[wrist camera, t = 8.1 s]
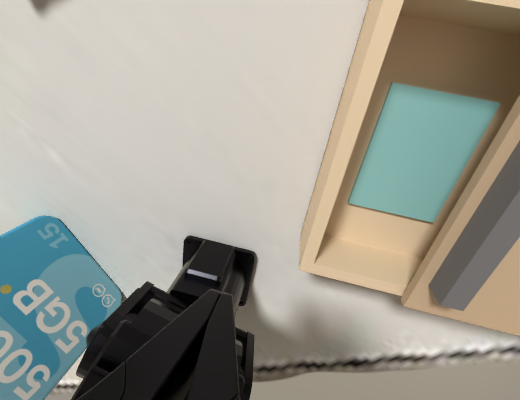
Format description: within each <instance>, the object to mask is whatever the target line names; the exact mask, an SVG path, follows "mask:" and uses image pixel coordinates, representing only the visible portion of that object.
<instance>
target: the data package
mask: <svg viewBox="0 0 520 400" xmlns="http://www.w3.org/2000/svg"><path fill="white" fill-rule="evenodd" d="M121 301H122V296H121V292H120V290H119V289H118V287H117V286H116V285H115V284H114V283H113V281H112V280H111V279H110V278H109V277H108V276H107V274H106V273H105V272H104V271H103V270H102V269H101V267H100V266H99V265H98V264H97V263H96V261H95V260H94V259H93V258H92V257H91V256H90V254H89V253H88V252H87V251H86V250H85V249H84V247H83V246H82V245H81V244H80V243H79V241H78V240H77V239H76V238H75V237H74V236H73V234H72V233H71V232H70V231H69V230H68V229H67V227H66V226H65V225H64V224H63V223H62V222H61V221H60V220H58V219H57V218H54V217H51V216H39V217H36V218H34V219H32V220H30V221H28V222H26V223H24V224H22V225H20V226H18V227H16V228H14V229H12V230H10V231H8V232H6V233H4V234H2V235H0V400H44V399H45V398H46V397H47V396H48V394H49V393H50V392H51V391H52V389H53V388H54V387H55V386H56V385H57V383H58V382H59V381H60V380H61V379H62V377H63V376H64V375H65V374H66V373H67V371H68V370H69V369H70V368H71V366H72V365H73V364H74V363H75V362H76V360H77V359H78V358H79V357H80V356H81V354H82V353H83V352H84V351H85V349H86V348H87V344H86V338H87V336H88V334H89V333H90V331H91V330H92V329H93V328H95V327H96V326H97V325H99V324H100V323H102V322H103V321H104V320H106V319H107V318H108V317H109V316H110V315H111V314H112V313H113V312H114V311H115V310H116V309H117V308H118V307H119V306H120V305H121Z"/></svg>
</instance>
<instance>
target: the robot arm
mask: <svg viewBox="0 0 520 400" xmlns="http://www.w3.org/2000/svg"><path fill="white" fill-rule="evenodd" d="M188 240H189V241H191V242H192V243H191V242H189V241H188ZM248 256H251V258H250V257H248ZM255 257H256V255H255V253H254V252H253V251H250V250H246V249H242V248H238V247H234V246H230V245H226V244H222V243H218V242H214V241H210V240H206V239H202V238H198V237H194V236H187V237H186V238H185V240H184V248H183V268H182V270H181V271H180V273H179V274H178V276H177V277H176V279H175V280H174V282H173V283H172V285H171V286H170V288H169V289H168V291H167V292H165V291H163V290H161V289H159V288H157V287H155V286H154V284H152V283H150V282H148V281H147V282H146V283H145V284H144V285H143V286H142V287H141V288H137V289H136V290H135V291H134V292H133V293H132V294H131V295H130V296H129V297H128V298H127V299H126V300H125V301H124V302H123V303H122V304H121V305H120V306H119V307H118V308H117V309H116V310H115V311H114V312H113V313H112V314H111V315H110V316H109V317H108V318H107V319H106V320H104V321H103V322H102V323H100V324H99V325H97V326H96V327H95V328H93V329H92V330H91V331H90V333H89V334H88V336H87V338H86V344H87V350H86V351H85V354H84V356H83V358H82V360H81V362H80V364H79V366H78V369H77V372H76V375H77V376H79V377H81V378H83V380H82V382H81V384H80V385H79V387H78V389H77V390H76V392H75V394H74V395H73V397H72V399H71V400H249V398H250V394H251V388H252V379H253V355H254V335H253V334H251V333H249V332H247V333H246V332H244V331H242V330H240V329H238V328H236V327H235V320H234V317H235V314H236V311H237V308H238V306H244V305H245V304H246V300H247V295H248V291H249V286H250V281H251V276H252V271H253V267H254V262H255ZM240 300H241V301H240Z"/></svg>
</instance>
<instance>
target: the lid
mask: <svg viewBox="0 0 520 400" xmlns="http://www.w3.org/2000/svg"><path fill="white" fill-rule="evenodd" d="M401 301H402V304H403V306H404V307H408V308H412V309H416V310H420V311H423V312H427V313H431V314H435V315H439V316H443V317H447V318H451V319H455V320H459V321H462V322H466V323H470V324H474V325H478V326H482V327H486V328H490V329H494V330H498V331H502V332H505V333H509V334H513V335H517V336H520V95H519V97H518V98H517V100H516V102H515V104H514V105H513V107H512V109H511V110H510V112H509V114H508V116H507V117H506V119H505V121H504V122H503V124H502V126H501V128H500V129H499V131H498V133H497V134H496V136H495V138H494V140H493V141H492V143H491V145H490V146H489V148H488V150H487V152H486V153H485V155H484V157H483V158H482V160H481V162H480V164H479V165H478V167H477V169H476V170H475V172H474V174H473V176H472V177H471V179H470V181H469V182H468V184H467V186H466V188H465V189H464V191H463V193H462V194H461V196H460V198H459V200H458V201H457V203H456V205H455V206H454V208H453V210H452V212H451V213H450V215H449V217H448V218H447V220H446V222H445V224H444V225H443V227H442V229H441V230H440V232H439V234H438V236H437V237H436V239H435V241H434V242H433V244H432V246H431V248H430V249H429V251H428V253H427V254H426V256H425V258H424V260H423V261H422V263H421V265H420V266H419V268H418V270H417V272H416V273H415V275H414V277H413V278H412V280H411V282H410V284H409V285H408V287H407V289H406V290H405V292H404V294H403V296H402V297H401Z"/></svg>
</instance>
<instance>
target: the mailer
mask: <svg viewBox="0 0 520 400" xmlns="http://www.w3.org/2000/svg"><path fill="white" fill-rule="evenodd" d="M519 95H520V0H369V3H368V7H367V10H366V13H365V17H364V20H363V24H362V27H361V30H360V34H359V37H358V41H357V44H356V47H355V51H354V54H353V58H352V61H351V64H350V68H349V71H348V75H347V78H346V82H345V85H344V88H343V92H342V95H341V99H340V102H339V105H338V109H337V112H336V116H335V119H334V122H333V126H332V129H331V133H330V136H329V139H328V143H327V146H326V150H325V153H324V156H323V160H322V163H321V167H320V170H319V173H318V177H317V180H316V184H315V187H314V191H313V194H312V197H311V201H310V204H309V208H308V211H307V214H306V218H305V221H304V225H303V228H302V231H301V238H300V256H299V270H300V271H304V272H308V273H312V274H316V275H320V276H324V277H328V278H332V279H336V280H340V281H344V282H348V283H352V284H356V285H360V286H363V287H367V288H371V289H375V290H379V291H383V292H387V293H391V294H395V295H399V296H403V294H404V292H405V290H406V289H407V287H408V285H409V284H410V282H411V280H412V278H413V277H414V275H415V273H416V272H417V270H418V268H419V266H420V265H421V263H422V261H423V260H424V258H425V256H426V254H427V253H428V251H429V249H430V248H431V246H432V244H433V242H434V241H435V239H436V237H437V236H438V234H439V232H440V230H441V229H442V227H443V225H444V224H445V222H446V220H447V218H448V217H449V215H450V213H451V212H452V210H453V208H454V206H455V205H456V203H457V201H458V200H459V198H460V196H461V194H462V193H463V191H464V189H465V188H466V186H467V184H468V182H469V181H470V179H471V177H472V176H473V174H474V172H475V170H476V169H477V167H478V165H479V164H480V162H481V160H482V158H483V157H484V155H485V153H486V152H487V150H488V148H489V146H490V145H491V143H492V141H493V140H494V138H495V136H496V134H497V133H498V131H499V129H500V128H501V126H502V124H503V122H504V121H505V119H506V117H507V116H508V114H509V112H510V110H511V109H512V107H513V105H514V104H515V102H516V100H517V98H518V97H519Z"/></svg>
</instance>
